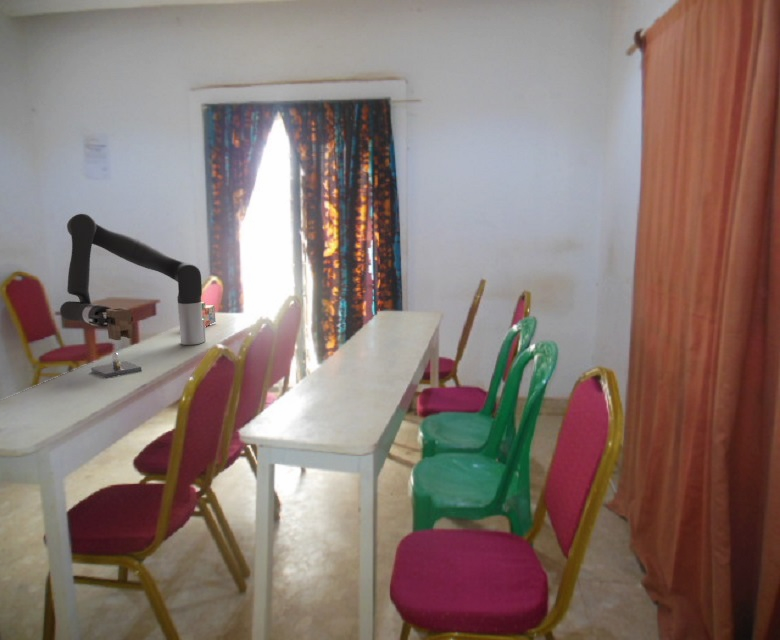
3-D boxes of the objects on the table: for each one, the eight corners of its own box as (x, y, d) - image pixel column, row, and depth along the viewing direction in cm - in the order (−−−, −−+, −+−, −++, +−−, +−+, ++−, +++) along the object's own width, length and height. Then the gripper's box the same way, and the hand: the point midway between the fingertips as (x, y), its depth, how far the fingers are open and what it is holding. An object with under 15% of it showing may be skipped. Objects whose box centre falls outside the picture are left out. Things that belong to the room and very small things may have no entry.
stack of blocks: (204, 323, 291) (202, 299, 289) (215, 324, 290) (214, 299, 288) (181, 332, 270) (179, 305, 268) (194, 332, 269) (192, 306, 267)
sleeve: (108, 338, 202) (106, 309, 200) (124, 335, 206) (122, 307, 205) (116, 340, 199) (114, 311, 197) (132, 337, 203) (130, 309, 201)
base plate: (91, 371, 203) (89, 353, 202) (126, 365, 211) (124, 347, 210) (105, 378, 195) (103, 359, 194) (141, 371, 203) (139, 352, 202)
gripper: (76, 307, 204) (101, 311, 194) (117, 302, 215) (142, 306, 205) (78, 328, 205) (102, 334, 195) (118, 322, 216) (143, 328, 206)
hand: (122, 320), depth 200 cm, fingers closed on sleeve, 5 cm apart
